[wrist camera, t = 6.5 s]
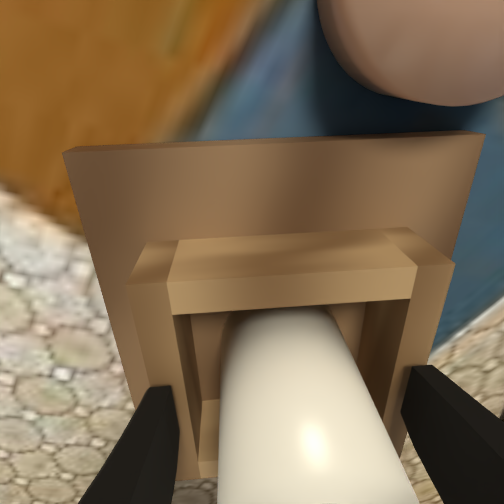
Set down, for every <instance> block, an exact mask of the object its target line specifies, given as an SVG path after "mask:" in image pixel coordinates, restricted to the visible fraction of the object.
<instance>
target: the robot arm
mask: <svg viewBox="0 0 504 504" xmlns="http://www.w3.org/2000/svg"><path fill="white" fill-rule="evenodd" d="M400 413H401V416H402V418H403V421H404V423H405V426H406V429H407V431H408V434H409V436H410V438H411V441H412V443H413V446H414V448H415V450H416V452H417V454H418V456H419V458H420V459H421V461H422V463H423V465H424V467H425V469H426V471H427V473H428V475H429V477H430V478H431V480H432V482H433V484H434V486H435V488H436V490H437V491H438V493H439V495H440V497H441V499H442V501H443V503H444V504H504V422H503V421H502V420H500V419H499V418H498V417H496V416H495V415H494V414H493V413H491V412H490V411H489V410H488V409H486V408H485V407H484V406H483V405H481V404H480V403H479V402H478V401H476V400H475V399H474V398H473V397H471V396H470V395H469V394H468V393H466V392H465V391H464V390H463V389H461V388H460V387H459V386H458V385H457V384H455V383H454V382H453V381H452V380H450V379H449V378H448V377H447V376H445V375H444V374H443V373H442V372H440V371H439V370H438V369H437V368H435V367H434V366H433V365H421V366H412V368H411V372H410V376H409V380H408V383H407V387H406V391H405V395H404V399H403V403H402V407H401V410H400ZM179 438H180V429H179V424H178V419H177V414H176V409H175V404H174V399H173V394H172V389H171V386H158V387H149V388H148V389H147V390H146V392H145V394H144V396H143V398H142V400H141V402H140V404H139V405H138V407H137V409H136V411H135V413H134V415H133V416H132V418H131V420H130V422H129V423H128V425H127V427H126V429H125V430H124V432H123V434H122V436H121V437H120V439H119V441H118V442H117V444H116V445H115V447H114V449H113V450H112V452H111V454H110V455H109V457H108V458H107V460H106V462H105V463H104V465H103V467H102V468H101V470H100V471H99V473H98V474H97V476H96V477H95V479H94V480H93V482H92V483H91V485H90V486H89V488H88V489H87V491H86V492H85V494H84V495H83V497H82V498H81V500H80V501H79V503H78V504H171V502H172V496H173V490H174V484H175V479H176V473H177V463H178V452H179Z"/></svg>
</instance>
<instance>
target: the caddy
mask: <svg viewBox="0 0 504 504" xmlns="http://www.w3.org/2000/svg"><path fill="white" fill-rule="evenodd" d="M485 135H486V134H482V133H476V132H471V131H465V130H455V131H432V132H408V133H385V134H361V135H338V136H314V137H291V138H267V139H244V140H220V141H197V142H173V143H150V144H127V145H103V146H80V147H75V148H72V149H70V150H67V151H65V152H62V155H63V158H64V162H65V165H66V169H67V172H68V176H69V179H70V183H71V186H72V190H73V193H74V197H75V200H76V204H77V207H78V211H79V214H80V218H81V221H82V225H83V228H84V232H85V235H86V239H87V242H88V246H89V249H90V253H91V257H92V260H93V264H94V267H95V271H96V274H97V278H98V281H99V285H100V288H101V292H102V295H103V299H104V302H105V306H106V309H107V313H108V316H109V320H110V323H111V327H112V330H113V334H114V337H115V341H116V344H117V348H118V351H119V355H120V358H121V362H122V365H123V369H124V372H125V376H126V379H127V383H128V386H129V390H130V393H131V397H132V400H133V404H134V407H135V411H136V409H137V407H138V405H139V404H140V402H141V400H142V398H143V396H144V394H145V392H146V390H147V389H148V388H149V387H158V386H171V389H172V394H173V399H174V404H175V409H176V414H177V419H178V424H179V429H180V438H179V452H178V463H177V473H176V479H175V481H181V480H191V479H202V478H212V477H218V453H219V413H220V374H221V337H222V330H223V327H224V324H225V322H226V320H227V318H228V316H229V315H230V314H231V313H232V311H236V310H250V309H265V308H279V307H294V306H308V305H323V304H326V305H327V306H328V307H329V308H330V310H331V311H332V313H333V315H334V317H335V319H336V321H337V324H338V326H339V328H340V330H341V332H342V335H343V337H344V339H345V341H346V343H347V346H348V348H349V350H350V352H351V354H352V356H353V359H354V361H355V363H356V365H357V367H358V370H359V372H360V374H361V376H362V378H363V381H364V383H365V385H366V387H367V389H368V391H369V394H370V396H371V398H372V400H373V402H374V405H375V407H376V409H377V411H378V413H379V415H380V418H381V420H382V422H383V424H384V426H385V429H386V431H387V433H388V435H389V437H390V440H391V442H392V444H393V446H394V448H395V450H396V453H397V455H398V457H399V459H400V455H401V452H402V448H403V445H404V442H405V438H406V435H407V429H406V426H405V423H404V421H403V418H402V416H401V413H400V410H401V407H402V403H403V399H404V395H405V391H406V387H407V383H408V380H409V376H410V372H411V368H412V366H421V365H427V361H428V358H429V354H430V351H431V347H432V344H433V340H434V337H435V334H436V330H437V327H438V323H439V320H440V316H441V313H442V309H443V306H444V302H445V299H446V295H447V292H448V288H449V285H450V281H451V278H452V274H453V271H454V267H455V263H454V262H452V261H451V257H452V254H453V250H454V247H455V243H456V239H457V236H458V232H459V229H460V225H461V221H462V218H463V214H464V211H465V207H466V203H467V200H468V196H469V193H470V189H471V185H472V182H473V178H474V175H475V171H476V167H477V164H478V160H479V157H480V153H481V149H482V146H483V142H484V139H485Z"/></svg>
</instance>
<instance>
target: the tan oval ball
mask: <svg viewBox="0 0 504 504" xmlns="http://www.w3.org/2000/svg"><path fill="white" fill-rule="evenodd" d="M317 6H318V12H319V18H320V22H321V26H322V29H323V33H324V36H325V38H326V41H327V43H328V46H329V48H330V50H331V52H332V54H333V55H334V57H335V59H336V60H337V62H338V63H339V64H340V66H341V67H342V68H343V69H344V71H345V72H346V73H347V74H348V75H349V76H350V77H352V78H353V79H354V80H355V81H356V82H357V83H359V84H361V85H362V86H364V87H365V88H367V89H369V90H371V91H374V92H376V93H378V94H382V95H386V96H390V97H395V98H400V99H406V100H412V101H417V102H423V103H429V104H434V105H442V106H468V105H473V104H478V103H483V102H486V101H489V100H492V99H495V98H498V97H501V96H503V95H504V0H317Z"/></svg>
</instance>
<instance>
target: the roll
mask: <svg viewBox="0 0 504 504" xmlns="http://www.w3.org/2000/svg"><path fill="white" fill-rule="evenodd" d="M217 504H419V501H418V499H417V496H416V494H415V492H414V490H413V488H412V485H411V483H410V481H409V479H408V477H407V475H406V472H405V470H404V468H403V466H402V464H401V461H400V459H399V457H398V455H397V453H396V450H395V448H394V446H393V444H392V442H391V440H390V437H389V435H388V433H387V431H386V429H385V426H384V424H383V422H382V420H381V418H380V415H379V413H378V411H377V409H376V407H375V405H374V402H373V400H372V398H371V396H370V394H369V391H368V389H367V387H366V385H365V383H364V381H363V378H362V376H361V374H360V372H359V370H358V367H357V365H356V363H355V361H354V359H353V356H352V354H351V352H350V350H349V348H348V346H347V343H346V341H345V339H344V337H343V335H342V332H341V330H340V328H339V326H338V324H337V321H336V319H335V317H334V315H333V313H332V311H331V310H330V308H329V307H328V306H327V305H326V304H323V305H308V306H294V307H279V308H265V309H250V310H236V311H232V313H231V314H230V315H229V316H228V318H227V320H226V322H225V324H224V327H223V330H222V337H221V374H220V413H219V453H218V492H217Z"/></svg>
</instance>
